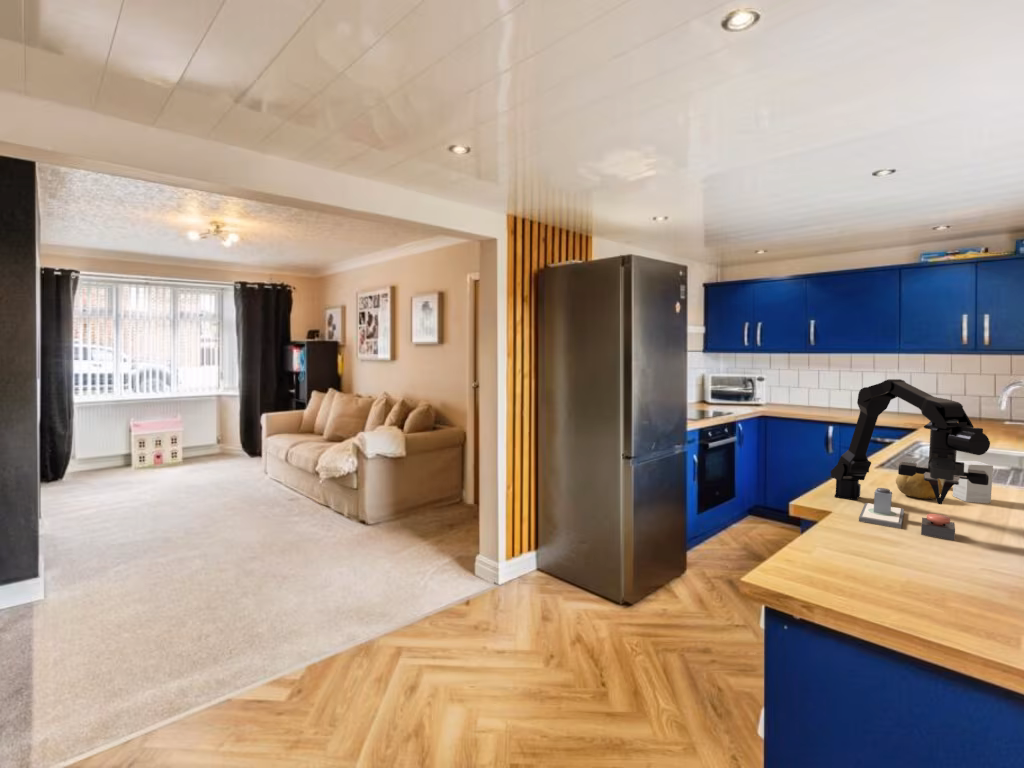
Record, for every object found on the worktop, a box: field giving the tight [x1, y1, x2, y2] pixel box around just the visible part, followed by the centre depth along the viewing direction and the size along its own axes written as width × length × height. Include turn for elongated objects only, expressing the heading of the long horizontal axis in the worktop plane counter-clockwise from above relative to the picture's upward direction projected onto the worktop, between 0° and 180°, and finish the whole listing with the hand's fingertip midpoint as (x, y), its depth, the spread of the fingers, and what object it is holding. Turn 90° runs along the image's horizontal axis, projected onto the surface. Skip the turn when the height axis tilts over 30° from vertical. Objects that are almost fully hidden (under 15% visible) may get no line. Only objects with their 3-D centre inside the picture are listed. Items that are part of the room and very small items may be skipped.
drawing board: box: [858, 502, 905, 529], centre depth 158 cm, size 10×18×2 cm, turn 141°
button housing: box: [920, 517, 956, 541], centre depth 144 cm, size 7×7×3 cm
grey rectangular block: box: [873, 487, 893, 515], centre depth 158 cm, size 4×4×7 cm
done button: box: [926, 513, 951, 526], centre depth 144 cm, size 5×5×4 cm
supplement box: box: [952, 459, 994, 504], centre depth 175 cm, size 7×7×13 cm
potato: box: [895, 473, 942, 500], centre depth 178 cm, size 10×12×10 cm
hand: (939, 504), depth 143 cm, fingers closed
